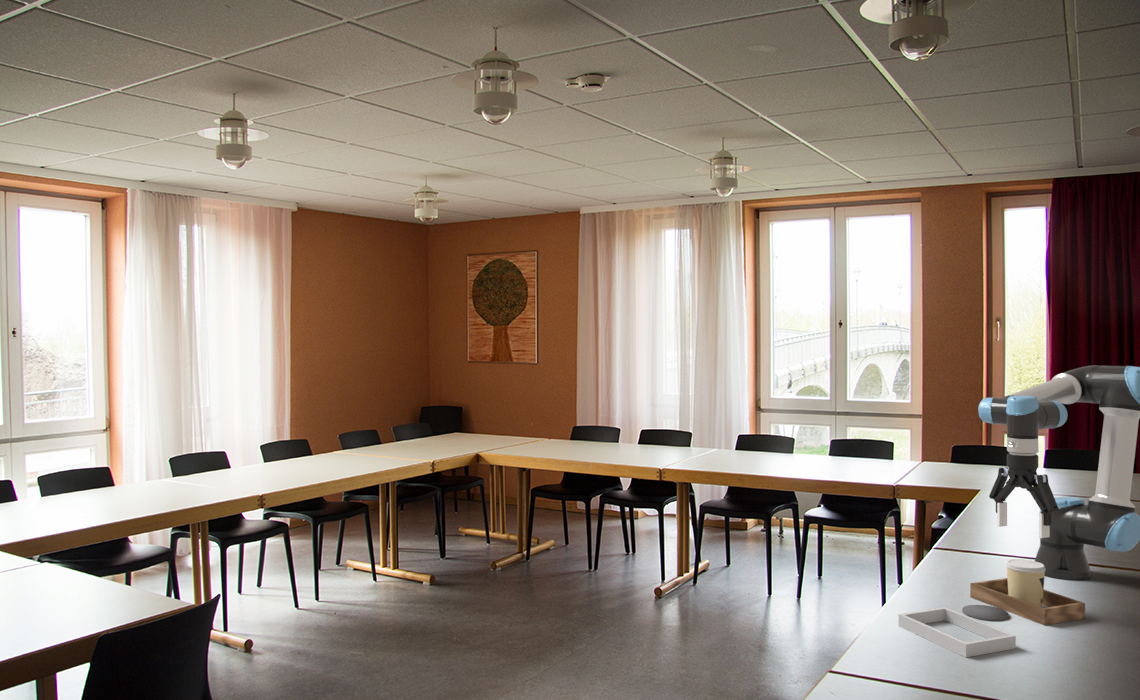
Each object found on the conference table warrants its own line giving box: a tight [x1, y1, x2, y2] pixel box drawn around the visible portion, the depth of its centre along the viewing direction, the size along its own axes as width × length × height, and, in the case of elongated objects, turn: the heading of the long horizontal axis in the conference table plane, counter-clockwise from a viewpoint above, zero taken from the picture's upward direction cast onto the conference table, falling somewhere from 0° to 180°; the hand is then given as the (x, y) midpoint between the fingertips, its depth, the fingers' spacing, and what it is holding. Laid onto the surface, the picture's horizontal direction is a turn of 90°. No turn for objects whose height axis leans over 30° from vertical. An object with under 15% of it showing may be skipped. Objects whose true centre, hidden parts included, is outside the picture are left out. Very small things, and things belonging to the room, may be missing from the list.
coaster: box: [962, 604, 1010, 622], centre depth 221 cm, size 11×11×1 cm
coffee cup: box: [1005, 558, 1045, 607], centre depth 225 cm, size 9×9×12 cm
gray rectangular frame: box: [898, 606, 1017, 658], centre depth 205 cm, size 15×22×3 cm
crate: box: [969, 577, 1086, 626], centre depth 225 cm, size 14×24×4 cm, turn 19°
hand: (1022, 531), depth 225 cm, fingers open, 13 cm apart
